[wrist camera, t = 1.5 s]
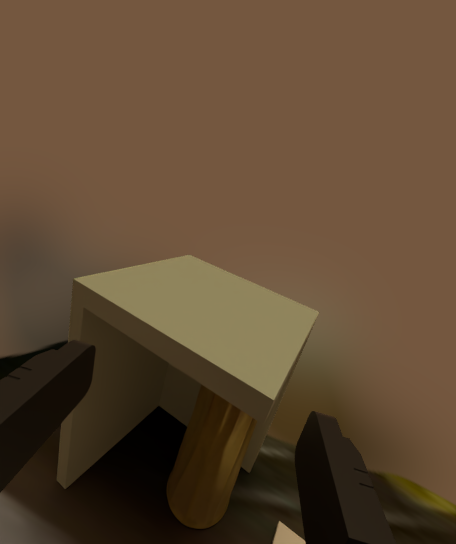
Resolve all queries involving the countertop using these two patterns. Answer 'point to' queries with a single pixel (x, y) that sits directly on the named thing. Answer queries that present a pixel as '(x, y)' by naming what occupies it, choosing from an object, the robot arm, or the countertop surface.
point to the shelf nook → (177, 351)
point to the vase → (208, 460)
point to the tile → (285, 536)
